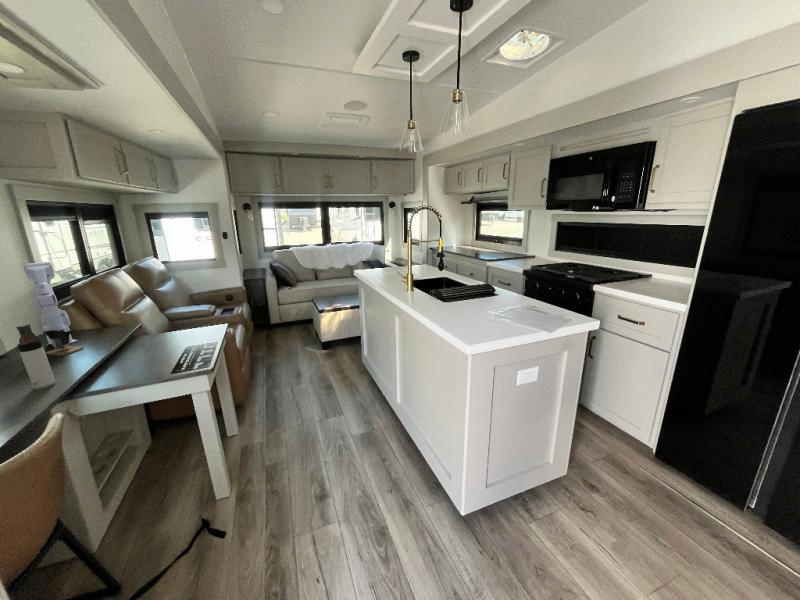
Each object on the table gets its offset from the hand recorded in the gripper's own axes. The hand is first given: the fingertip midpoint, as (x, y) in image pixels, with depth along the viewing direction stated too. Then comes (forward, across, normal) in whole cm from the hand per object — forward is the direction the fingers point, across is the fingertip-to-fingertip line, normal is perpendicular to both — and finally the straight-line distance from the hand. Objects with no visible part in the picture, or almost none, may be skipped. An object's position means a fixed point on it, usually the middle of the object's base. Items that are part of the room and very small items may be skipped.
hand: (61, 343), depth 162 cm
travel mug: (+5, +32, -27) cm, 42 cm away
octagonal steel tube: (+1, 0, 0) cm, 1 cm away
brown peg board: (+4, 0, 0) cm, 4 cm away
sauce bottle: (+5, +5, -13) cm, 15 cm away
